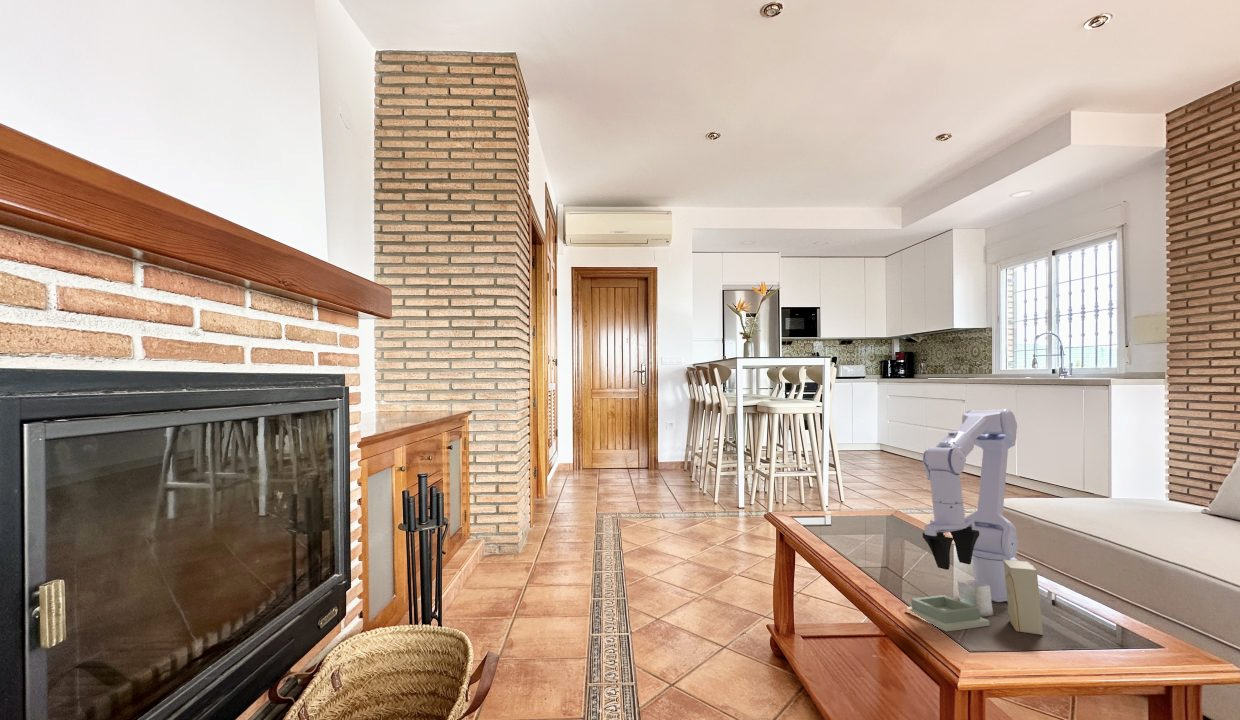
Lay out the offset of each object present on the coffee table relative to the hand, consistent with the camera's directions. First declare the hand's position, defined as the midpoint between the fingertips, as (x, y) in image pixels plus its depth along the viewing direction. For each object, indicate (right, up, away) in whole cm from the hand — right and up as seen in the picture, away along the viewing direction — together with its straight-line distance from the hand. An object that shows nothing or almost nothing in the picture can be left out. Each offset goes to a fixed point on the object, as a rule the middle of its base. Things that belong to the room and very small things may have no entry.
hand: (954, 565), depth 109 cm
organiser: (-5, -9, -5) cm, 11 cm away
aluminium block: (+3, -9, -2) cm, 10 cm away
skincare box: (+7, -8, -10) cm, 15 cm away
